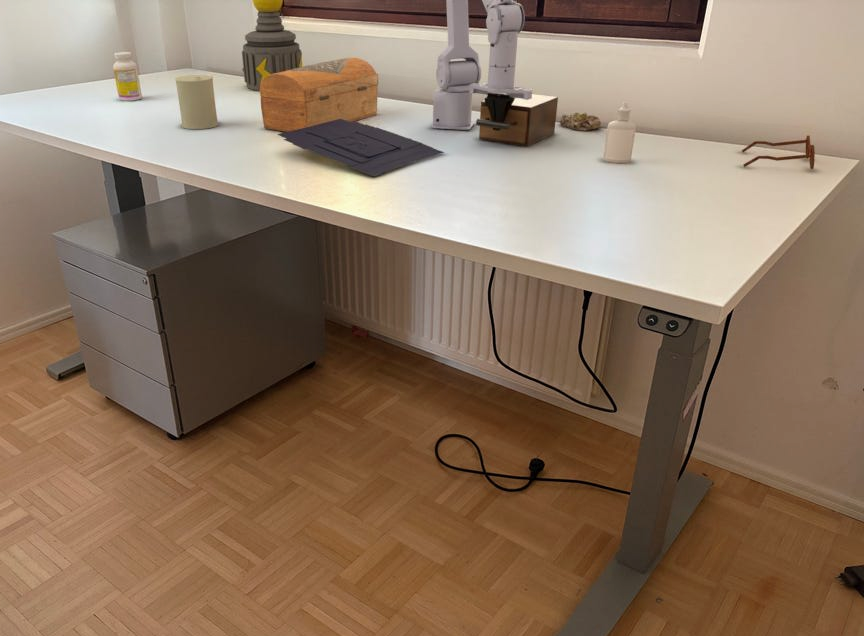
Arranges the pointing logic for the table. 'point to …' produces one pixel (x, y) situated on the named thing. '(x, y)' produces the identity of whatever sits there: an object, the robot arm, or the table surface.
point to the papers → (360, 145)
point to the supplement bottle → (126, 77)
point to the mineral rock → (580, 121)
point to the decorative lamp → (269, 46)
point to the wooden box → (319, 94)
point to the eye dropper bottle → (620, 138)
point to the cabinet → (534, 118)
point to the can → (197, 101)
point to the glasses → (809, 149)
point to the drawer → (504, 125)
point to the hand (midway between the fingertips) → (497, 129)
